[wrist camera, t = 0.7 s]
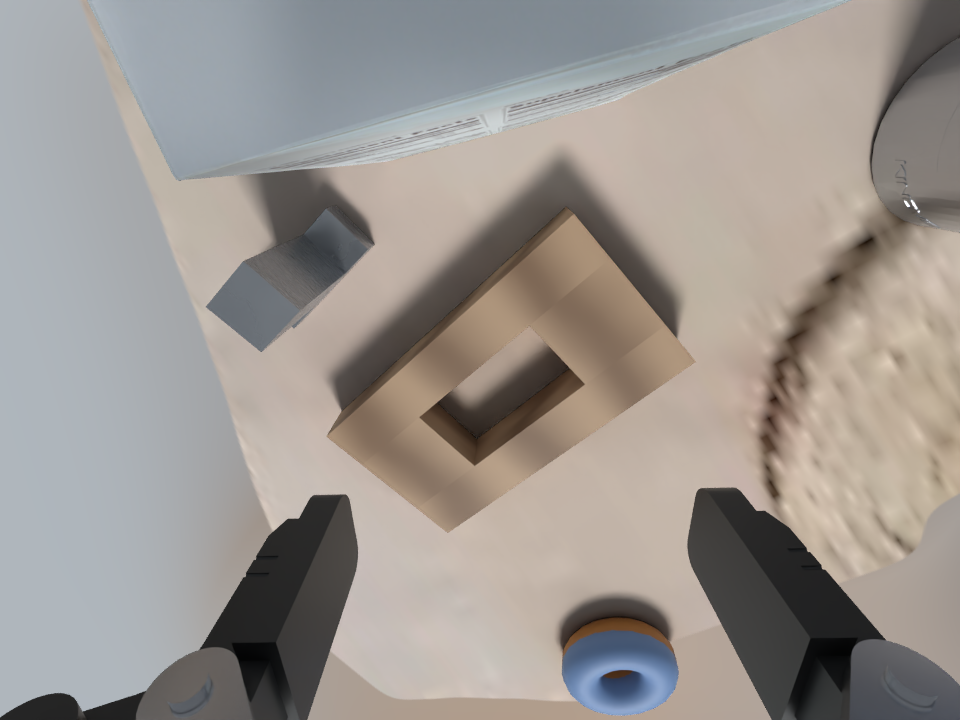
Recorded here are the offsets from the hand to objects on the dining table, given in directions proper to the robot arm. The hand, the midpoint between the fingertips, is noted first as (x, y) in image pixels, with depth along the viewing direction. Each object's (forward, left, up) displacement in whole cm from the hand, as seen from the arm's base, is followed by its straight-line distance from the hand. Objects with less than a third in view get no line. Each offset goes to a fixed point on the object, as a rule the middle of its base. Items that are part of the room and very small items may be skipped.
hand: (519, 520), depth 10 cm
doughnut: (+15, +32, -19) cm, 40 cm away
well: (+4, +4, -19) cm, 20 cm away
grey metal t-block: (+7, -9, -19) cm, 22 cm away
